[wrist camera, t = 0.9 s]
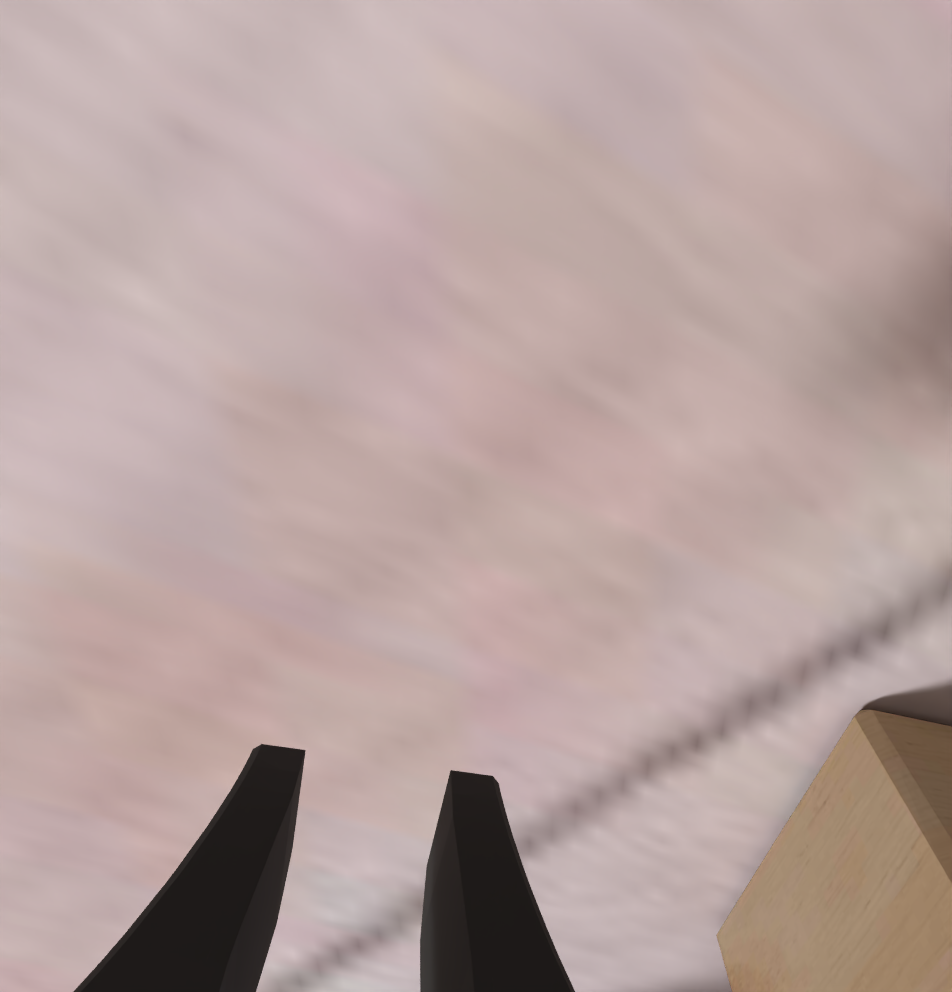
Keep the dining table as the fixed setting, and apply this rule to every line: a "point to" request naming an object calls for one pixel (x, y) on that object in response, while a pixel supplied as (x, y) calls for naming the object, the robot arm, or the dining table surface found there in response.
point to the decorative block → (856, 872)
